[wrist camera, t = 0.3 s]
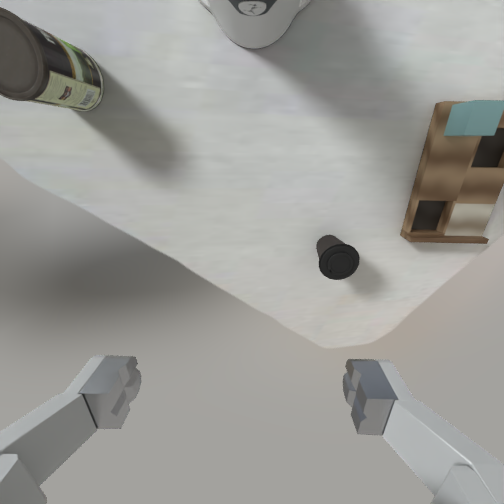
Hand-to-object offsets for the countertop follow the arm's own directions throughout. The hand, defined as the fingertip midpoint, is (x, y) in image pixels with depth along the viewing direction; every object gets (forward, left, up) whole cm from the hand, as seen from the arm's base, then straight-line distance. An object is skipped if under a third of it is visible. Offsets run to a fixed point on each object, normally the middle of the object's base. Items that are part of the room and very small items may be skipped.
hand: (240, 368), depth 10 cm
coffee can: (-18, -34, -47) cm, 61 cm away
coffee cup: (+14, +17, -47) cm, 52 cm away
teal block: (-12, +37, -45) cm, 59 cm away
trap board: (-2, +41, -47) cm, 63 cm away
